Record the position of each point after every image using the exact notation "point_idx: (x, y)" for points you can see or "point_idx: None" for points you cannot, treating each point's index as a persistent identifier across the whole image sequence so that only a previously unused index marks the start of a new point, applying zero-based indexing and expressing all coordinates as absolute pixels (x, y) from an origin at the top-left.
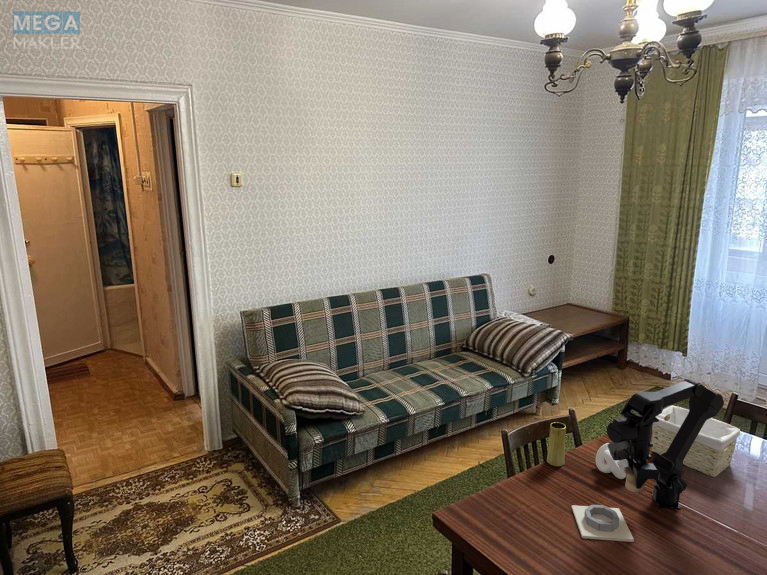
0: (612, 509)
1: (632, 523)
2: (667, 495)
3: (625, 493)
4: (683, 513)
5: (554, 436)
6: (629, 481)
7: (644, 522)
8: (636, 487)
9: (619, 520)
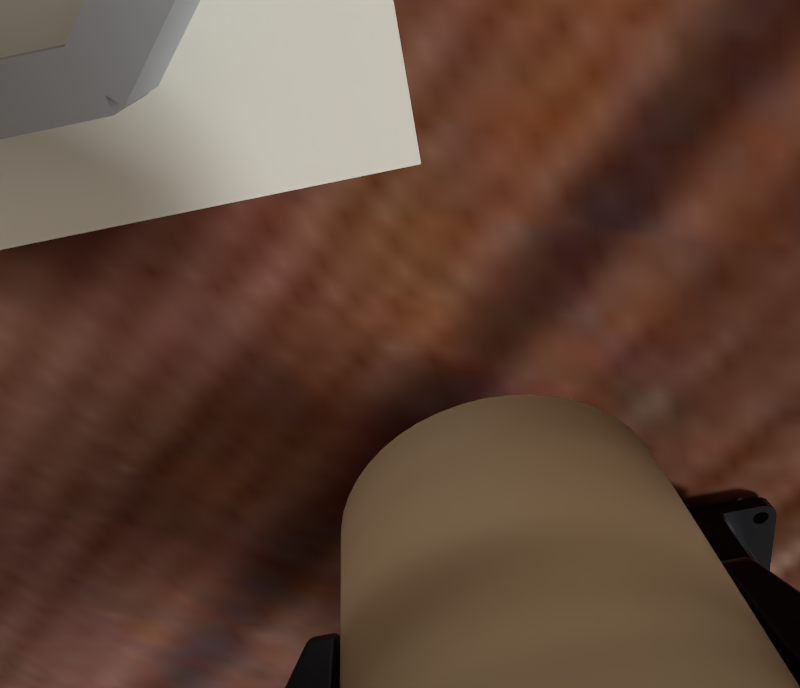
0: (364, 73)
1: (210, 290)
2: None
3: (795, 265)
4: None
5: None
6: (405, 611)
7: (282, 401)
8: (300, 659)
9: (135, 149)
